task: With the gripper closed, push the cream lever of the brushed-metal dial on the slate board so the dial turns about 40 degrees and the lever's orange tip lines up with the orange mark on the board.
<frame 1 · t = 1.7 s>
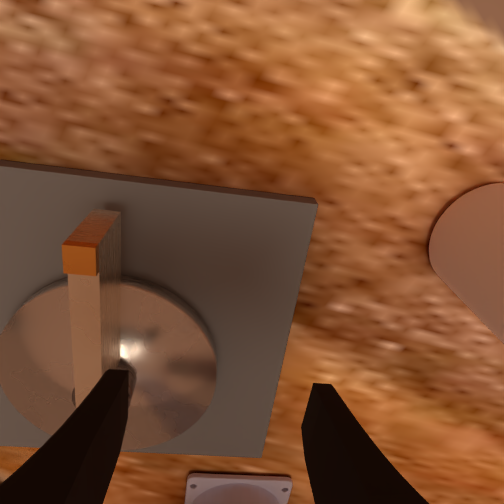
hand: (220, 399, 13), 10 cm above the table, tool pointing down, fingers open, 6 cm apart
can: (479, 234, 23), on the table
dial: (101, 366, 20), point 4 cm above the table, hinge at 0.0°
dial board: (111, 328, 24), on the table
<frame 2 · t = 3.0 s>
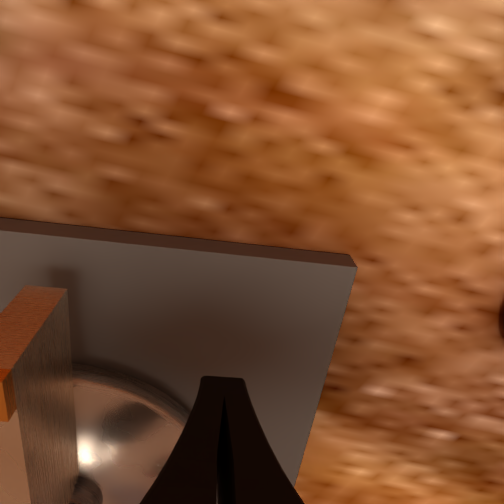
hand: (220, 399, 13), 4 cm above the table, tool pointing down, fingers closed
dial: (48, 498, 14), point 4 cm above the table, hinge at 0.0°
dial board: (72, 420, 18), on the table
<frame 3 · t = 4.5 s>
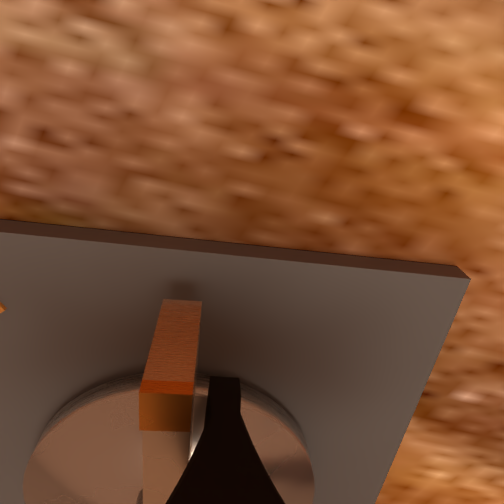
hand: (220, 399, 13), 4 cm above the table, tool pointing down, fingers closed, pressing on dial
dial: (170, 503, 15), point 4 cm above the table, hinge at 1.5°, touching gripper
dial board: (170, 426, 18), on the table
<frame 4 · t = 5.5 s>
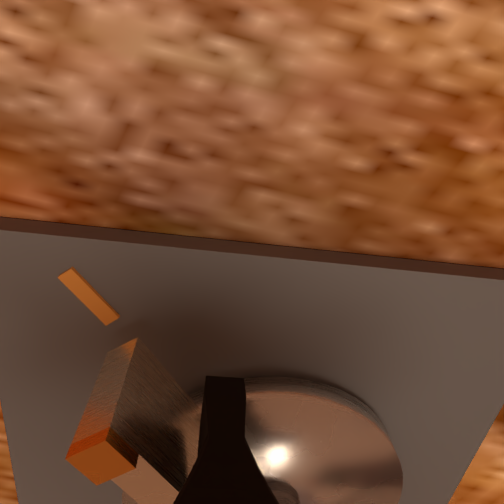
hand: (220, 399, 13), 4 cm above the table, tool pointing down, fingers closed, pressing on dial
dial board: (254, 429, 19), on the table
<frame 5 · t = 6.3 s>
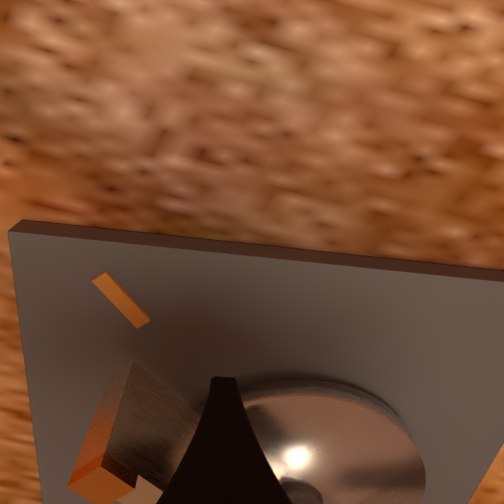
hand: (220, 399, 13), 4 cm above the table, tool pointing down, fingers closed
dial board: (276, 431, 19), on the table
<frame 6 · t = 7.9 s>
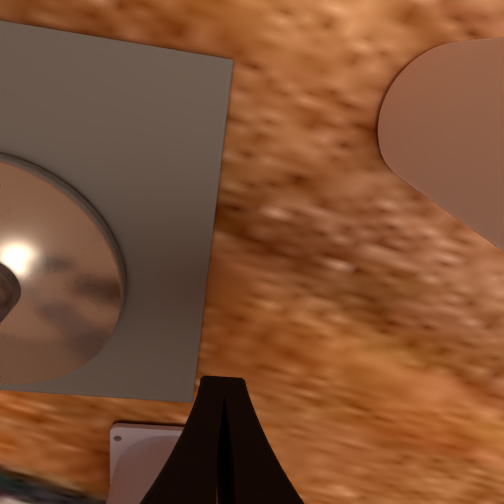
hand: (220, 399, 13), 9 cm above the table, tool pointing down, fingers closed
can: (440, 118, 19), on the table
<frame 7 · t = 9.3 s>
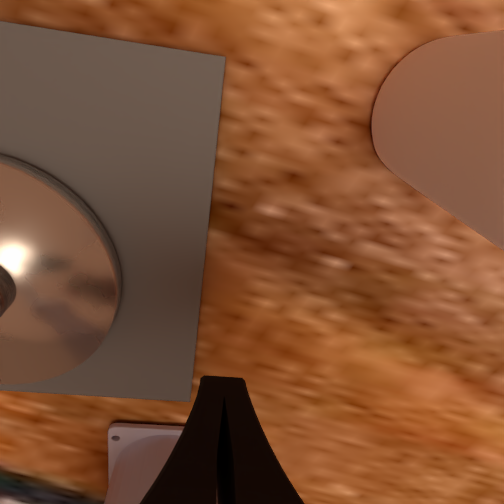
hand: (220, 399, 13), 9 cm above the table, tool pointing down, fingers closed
can: (434, 114, 19), on the table
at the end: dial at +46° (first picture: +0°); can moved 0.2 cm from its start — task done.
